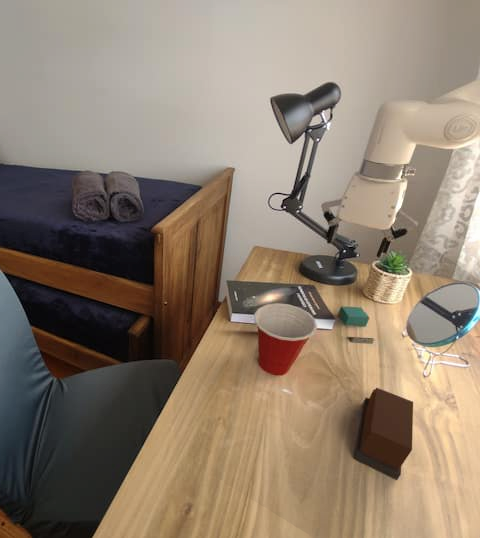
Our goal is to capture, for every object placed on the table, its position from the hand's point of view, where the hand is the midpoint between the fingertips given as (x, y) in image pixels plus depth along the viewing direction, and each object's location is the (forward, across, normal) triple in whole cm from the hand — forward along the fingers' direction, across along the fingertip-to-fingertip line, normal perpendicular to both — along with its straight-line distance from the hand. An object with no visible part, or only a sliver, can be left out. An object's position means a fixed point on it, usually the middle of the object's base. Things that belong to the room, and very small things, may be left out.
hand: (354, 248), depth 78 cm
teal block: (+18, -6, +4) cm, 19 cm away
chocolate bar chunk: (+18, -16, +31) cm, 39 cm away
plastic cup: (+18, +3, +27) cm, 32 cm away
